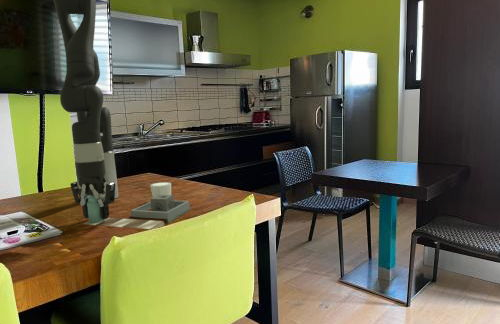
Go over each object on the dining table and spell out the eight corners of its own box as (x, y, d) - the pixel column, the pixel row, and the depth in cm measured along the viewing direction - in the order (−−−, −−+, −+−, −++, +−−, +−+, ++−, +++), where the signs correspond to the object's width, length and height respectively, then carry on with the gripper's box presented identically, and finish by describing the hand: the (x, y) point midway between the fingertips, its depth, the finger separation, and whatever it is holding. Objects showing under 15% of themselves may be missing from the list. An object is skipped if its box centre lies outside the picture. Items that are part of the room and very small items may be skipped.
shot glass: (154, 208, 121) (152, 187, 120) (149, 203, 127) (148, 183, 126) (175, 204, 124) (173, 184, 123) (169, 200, 130) (168, 180, 129)
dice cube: (167, 215, 110) (165, 199, 109) (151, 215, 111) (150, 198, 110) (174, 210, 114) (173, 194, 114) (160, 210, 116) (158, 194, 115)
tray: (131, 220, 109) (130, 210, 108) (155, 208, 120) (154, 199, 120) (168, 223, 104) (167, 212, 104) (189, 210, 116) (189, 201, 115)
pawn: (86, 222, 105) (82, 195, 104) (96, 218, 109) (93, 192, 107) (97, 223, 103) (94, 196, 102) (107, 219, 107) (104, 192, 106)
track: (82, 228, 104) (81, 224, 104) (99, 220, 110) (99, 216, 110) (149, 233, 96) (149, 229, 96) (164, 225, 103) (163, 220, 103)
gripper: (58, 161, 102) (66, 220, 105) (101, 161, 97) (108, 223, 100) (79, 157, 109) (86, 213, 112) (119, 157, 104) (126, 215, 107)
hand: (96, 217), depth 106 cm, fingers open, 5 cm apart
